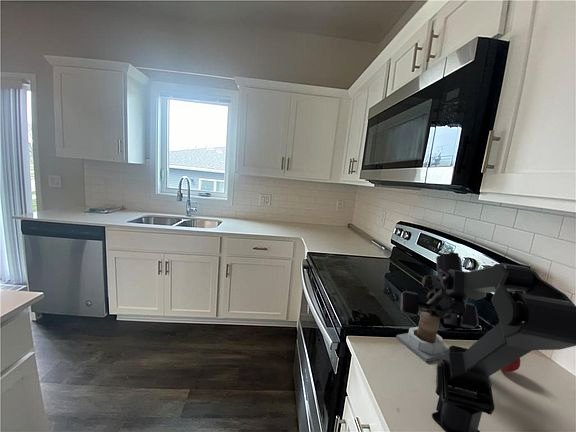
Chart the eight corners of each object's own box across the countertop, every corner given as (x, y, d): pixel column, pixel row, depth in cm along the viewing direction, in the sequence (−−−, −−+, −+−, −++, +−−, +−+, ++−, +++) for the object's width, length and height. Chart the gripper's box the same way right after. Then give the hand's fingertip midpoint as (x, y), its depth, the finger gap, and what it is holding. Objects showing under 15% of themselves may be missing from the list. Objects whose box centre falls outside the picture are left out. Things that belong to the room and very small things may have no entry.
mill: (436, 350, 79) (446, 307, 77) (418, 347, 80) (427, 304, 78) (430, 340, 84) (438, 299, 82) (413, 337, 85) (421, 297, 82)
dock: (453, 355, 79) (455, 344, 79) (425, 362, 75) (428, 350, 75) (421, 333, 89) (424, 323, 89) (396, 337, 85) (398, 327, 84)
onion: (522, 380, 72) (530, 352, 71) (500, 377, 72) (507, 350, 71) (505, 364, 78) (512, 339, 77) (485, 362, 78) (491, 336, 77)
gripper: (483, 277, 72) (459, 298, 85) (408, 264, 76) (395, 286, 89) (491, 319, 66) (463, 335, 78) (408, 303, 70) (394, 321, 82)
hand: (427, 317), depth 82 cm, fingers open, 9 cm apart
